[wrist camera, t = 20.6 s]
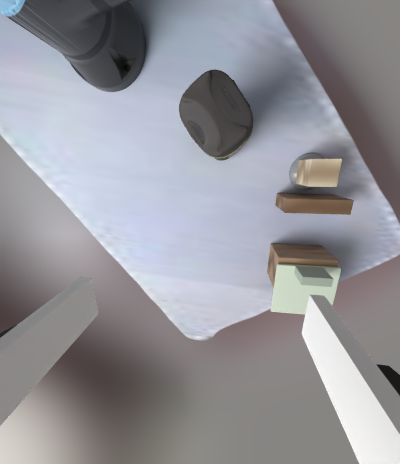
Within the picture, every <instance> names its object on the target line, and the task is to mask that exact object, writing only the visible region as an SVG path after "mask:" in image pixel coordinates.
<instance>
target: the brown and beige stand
mask: <svg viewBox="0 0 400 464" xmlns="http://www.w3.org/2000/svg"><path fill="white" fill-rule="evenodd" d="M353 201H354V200H351V199H347V198H343V197H339V196H336V195H331V194H277V197H276V206H277V207H278V208H280V209H281V210H282V211H283V212H285V213H313V214H349V215H350V214H351V210H352V205H353ZM338 263H339V260H337V259H336V258H335V257H334V256H333V255H332V254H330V253H329V252H328V251H327V250H326V249H324V248H323V247H322V246H313V245H291V244H271V247H270V255H269V263H268V271H267V272H268V275H269V278H270V280H271V283H272V285H273V288H274V282H275V275H276V268H277V264H293V265H310V266H327V267H338Z"/></svg>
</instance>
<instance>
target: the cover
mask: <svg viewBox="0 0 400 464" xmlns="http://www.w3.org/2000/svg"><path fill="white" fill-rule="evenodd" d="M340 273H341V268H340V267H327V266H310V265H293V264H277V268H276V275H275V282H274V290H273V297H272V304H271V311H272V312H283V313H295V314H306V310H307V305H308V300H309V295H323V296H325V297H326V299H327V300H328V301H329V302H330V304H331V305H333V300H334V297H335V292H336V289H337V285H338V281H339V277H340Z"/></svg>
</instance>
